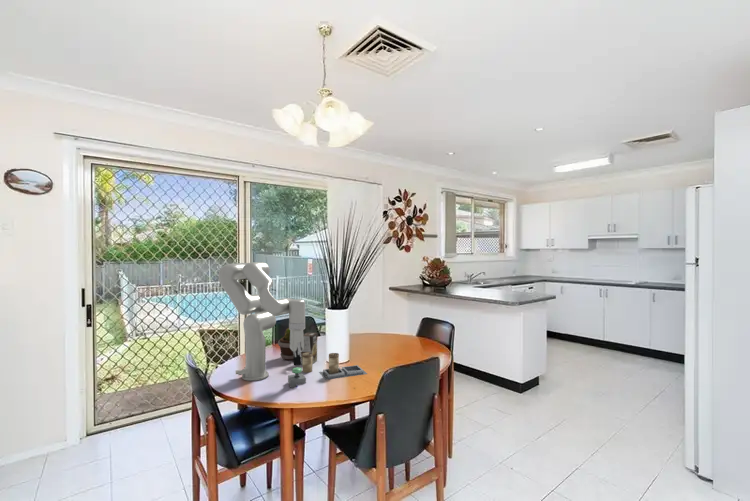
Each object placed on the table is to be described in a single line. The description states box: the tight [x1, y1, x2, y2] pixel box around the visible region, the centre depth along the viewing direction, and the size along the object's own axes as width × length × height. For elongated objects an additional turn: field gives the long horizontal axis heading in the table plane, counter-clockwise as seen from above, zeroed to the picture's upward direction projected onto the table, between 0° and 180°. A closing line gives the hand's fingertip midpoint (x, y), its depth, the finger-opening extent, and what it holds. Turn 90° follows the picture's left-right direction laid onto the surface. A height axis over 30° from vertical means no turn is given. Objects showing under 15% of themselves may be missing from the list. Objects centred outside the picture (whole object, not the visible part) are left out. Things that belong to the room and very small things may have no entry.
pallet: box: [318, 364, 368, 381], centre depth 183 cm, size 22×12×3 cm, turn 113°
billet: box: [301, 353, 313, 374], centre depth 186 cm, size 5×5×10 cm
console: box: [287, 372, 307, 389], centre depth 171 cm, size 7×7×4 cm
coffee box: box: [300, 332, 318, 366], centre depth 204 cm, size 9×6×16 cm
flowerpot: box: [277, 328, 294, 362], centre depth 212 cm, size 14×15×20 cm
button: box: [291, 366, 303, 378], centre depth 171 cm, size 4×4×4 cm
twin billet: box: [328, 352, 340, 374], centre depth 181 cm, size 5×5×10 cm
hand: (297, 364), depth 171 cm, fingers closed
